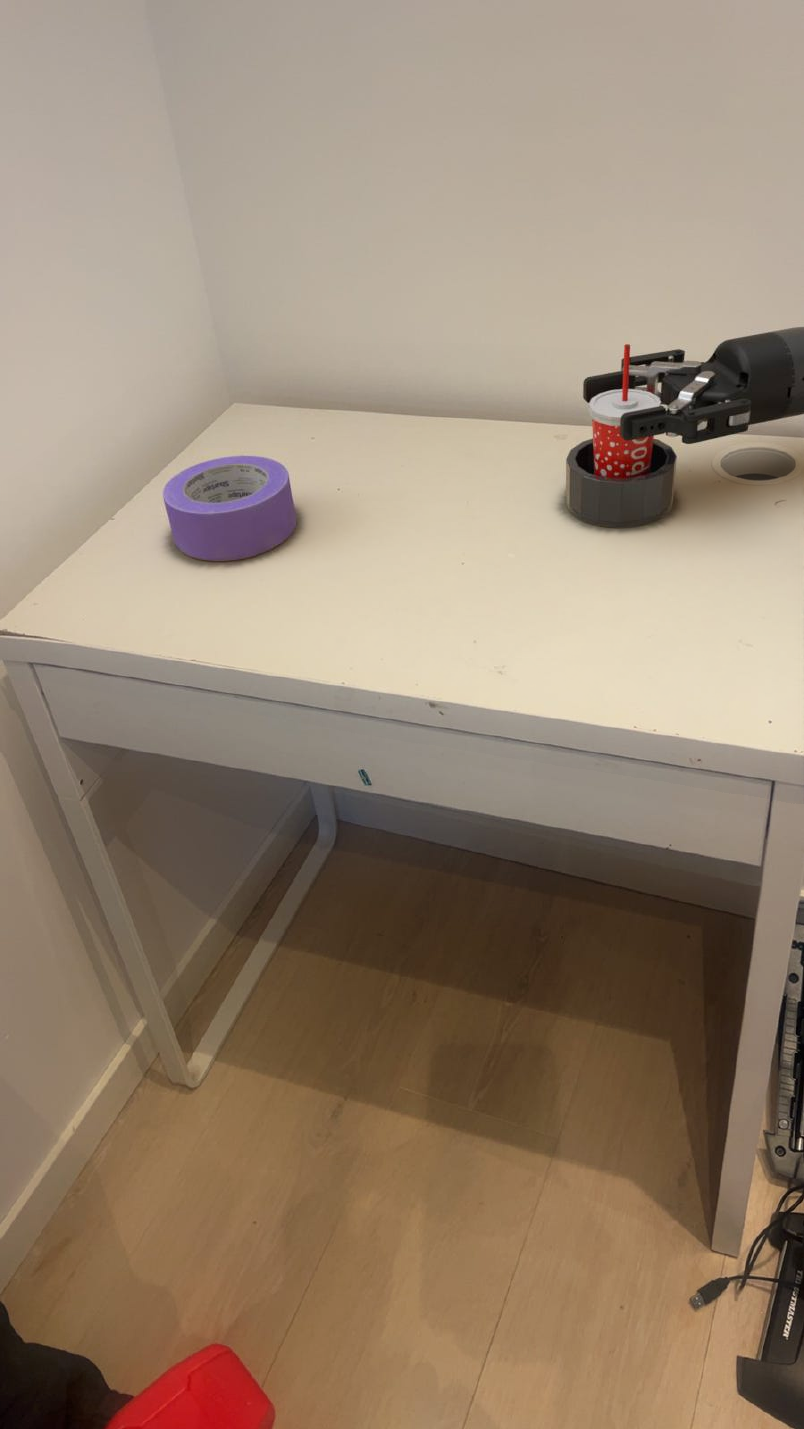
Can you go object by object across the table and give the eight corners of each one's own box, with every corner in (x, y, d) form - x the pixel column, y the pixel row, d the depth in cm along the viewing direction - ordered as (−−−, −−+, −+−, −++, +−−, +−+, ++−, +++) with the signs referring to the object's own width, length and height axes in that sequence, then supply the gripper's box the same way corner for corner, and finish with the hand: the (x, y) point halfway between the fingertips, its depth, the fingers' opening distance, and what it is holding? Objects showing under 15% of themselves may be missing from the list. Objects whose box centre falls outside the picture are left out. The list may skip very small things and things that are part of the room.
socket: (657, 473, 100) (660, 429, 97) (684, 521, 92) (689, 475, 90) (558, 484, 100) (558, 440, 97) (577, 533, 92) (578, 487, 90)
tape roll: (228, 492, 105) (218, 445, 102) (321, 513, 100) (313, 465, 97) (149, 547, 98) (135, 499, 95) (244, 573, 92) (233, 523, 89)
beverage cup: (602, 517, 93) (606, 364, 84) (577, 488, 98) (579, 339, 89) (665, 504, 94) (677, 350, 85) (638, 475, 98) (646, 327, 90)
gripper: (741, 308, 95) (573, 339, 93) (825, 361, 84) (637, 397, 82) (732, 388, 100) (572, 419, 98) (811, 447, 89) (633, 483, 87)
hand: (602, 409), depth 90 cm, fingers open, 8 cm apart
